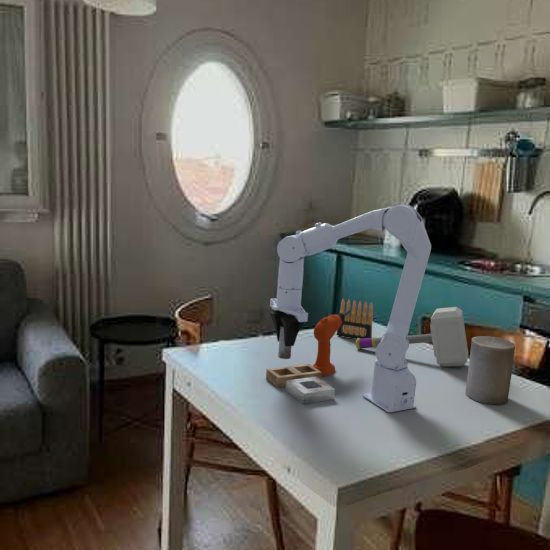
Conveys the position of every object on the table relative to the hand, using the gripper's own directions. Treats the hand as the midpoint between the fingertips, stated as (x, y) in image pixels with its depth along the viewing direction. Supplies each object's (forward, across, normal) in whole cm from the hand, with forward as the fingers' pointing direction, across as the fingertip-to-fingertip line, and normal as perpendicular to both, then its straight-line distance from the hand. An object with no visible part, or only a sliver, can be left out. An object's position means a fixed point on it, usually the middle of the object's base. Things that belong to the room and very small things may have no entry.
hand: (285, 343), depth 134 cm
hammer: (+10, -5, +43) cm, 45 cm away
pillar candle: (+10, +24, +42) cm, 49 cm away
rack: (+10, 0, +3) cm, 10 cm away
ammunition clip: (+10, -25, +39) cm, 47 cm away
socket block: (+10, +9, +2) cm, 13 cm away
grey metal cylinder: (+3, 0, 0) cm, 3 cm away
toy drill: (+10, -5, +17) cm, 20 cm away
